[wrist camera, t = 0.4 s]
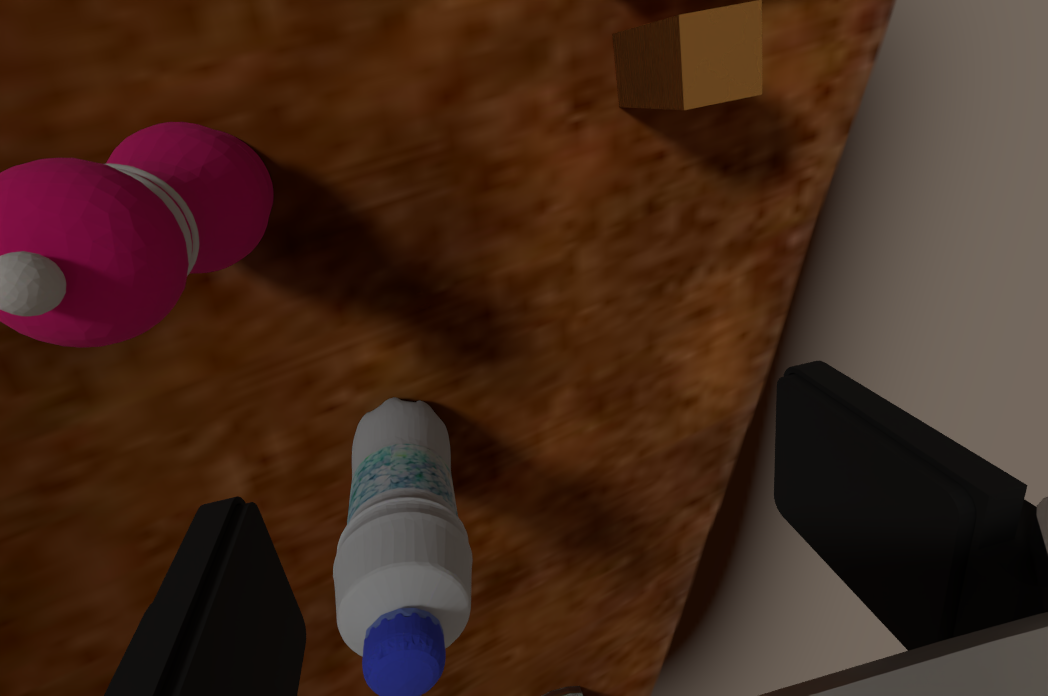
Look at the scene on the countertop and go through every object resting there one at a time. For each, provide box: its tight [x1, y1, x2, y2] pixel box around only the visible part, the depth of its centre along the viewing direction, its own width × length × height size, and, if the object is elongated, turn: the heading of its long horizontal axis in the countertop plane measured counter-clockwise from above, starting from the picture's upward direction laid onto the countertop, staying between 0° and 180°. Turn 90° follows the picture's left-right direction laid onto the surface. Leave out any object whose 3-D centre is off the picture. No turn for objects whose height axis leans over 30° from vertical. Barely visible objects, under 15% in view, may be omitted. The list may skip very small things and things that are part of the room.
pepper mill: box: [0, 122, 273, 347], centre depth 25 cm, size 7×7×20 cm
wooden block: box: [612, 0, 762, 110], centre depth 32 cm, size 4×4×9 cm
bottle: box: [333, 397, 472, 696], centre depth 33 cm, size 7×7×20 cm
